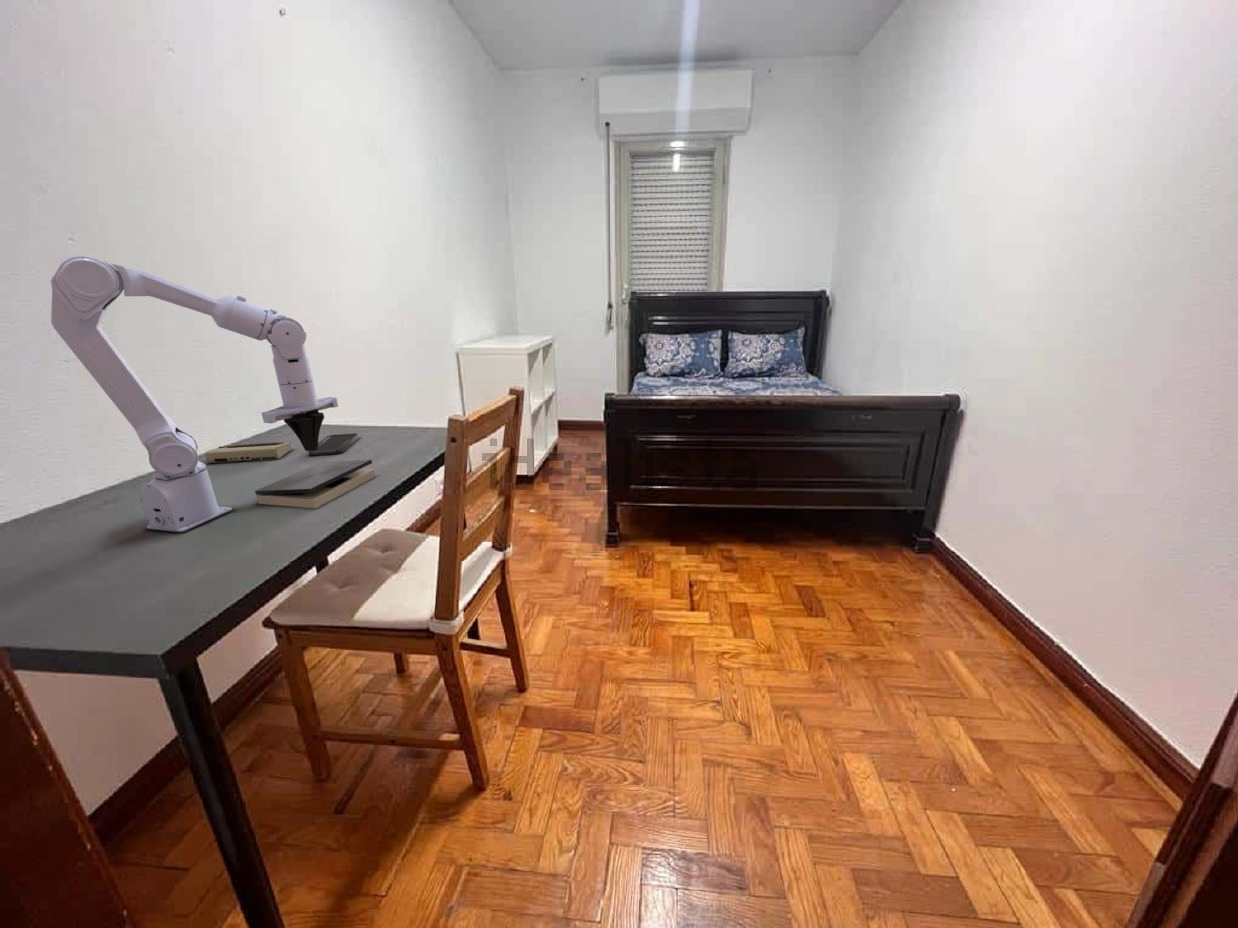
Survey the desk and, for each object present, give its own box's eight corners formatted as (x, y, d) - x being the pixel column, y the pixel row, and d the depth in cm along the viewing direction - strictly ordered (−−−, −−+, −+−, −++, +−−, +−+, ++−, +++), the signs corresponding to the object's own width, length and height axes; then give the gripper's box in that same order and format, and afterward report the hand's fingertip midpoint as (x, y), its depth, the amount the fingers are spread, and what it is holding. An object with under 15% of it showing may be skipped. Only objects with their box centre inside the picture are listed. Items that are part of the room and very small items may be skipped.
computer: (292, 449, 133) (289, 437, 132) (278, 459, 125) (275, 446, 124) (226, 454, 131) (222, 441, 129) (207, 464, 123) (203, 451, 122)
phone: (306, 451, 127) (328, 435, 141) (307, 456, 127) (329, 439, 141) (340, 449, 128) (359, 433, 142) (341, 453, 128) (360, 436, 142)
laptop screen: (372, 463, 111) (371, 459, 111) (311, 493, 95) (310, 488, 95) (322, 465, 114) (321, 462, 114) (256, 495, 99) (254, 490, 98)
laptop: (375, 476, 112) (373, 468, 111) (315, 508, 96) (313, 499, 96) (324, 473, 115) (322, 465, 114) (258, 503, 99) (256, 494, 99)
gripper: (314, 375, 106) (328, 438, 110) (243, 387, 93) (262, 458, 98) (339, 376, 104) (352, 441, 108) (270, 389, 91) (288, 462, 95)
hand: (311, 449), depth 103 cm, fingers closed
